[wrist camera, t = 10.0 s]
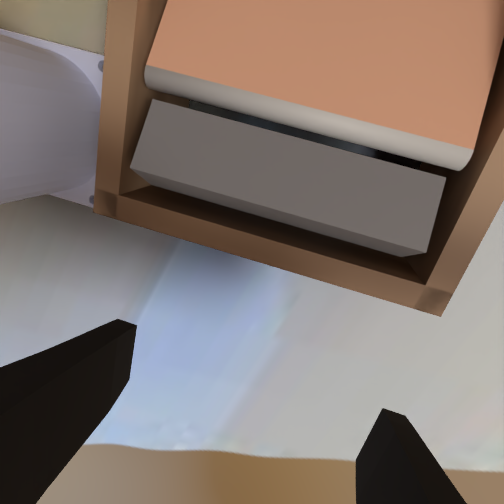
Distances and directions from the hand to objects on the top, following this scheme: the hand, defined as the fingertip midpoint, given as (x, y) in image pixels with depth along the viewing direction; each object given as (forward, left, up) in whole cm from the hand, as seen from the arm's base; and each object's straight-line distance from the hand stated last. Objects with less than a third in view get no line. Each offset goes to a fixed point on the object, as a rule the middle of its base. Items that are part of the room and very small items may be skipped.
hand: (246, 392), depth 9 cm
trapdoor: (-1, +11, -8) cm, 14 cm away
